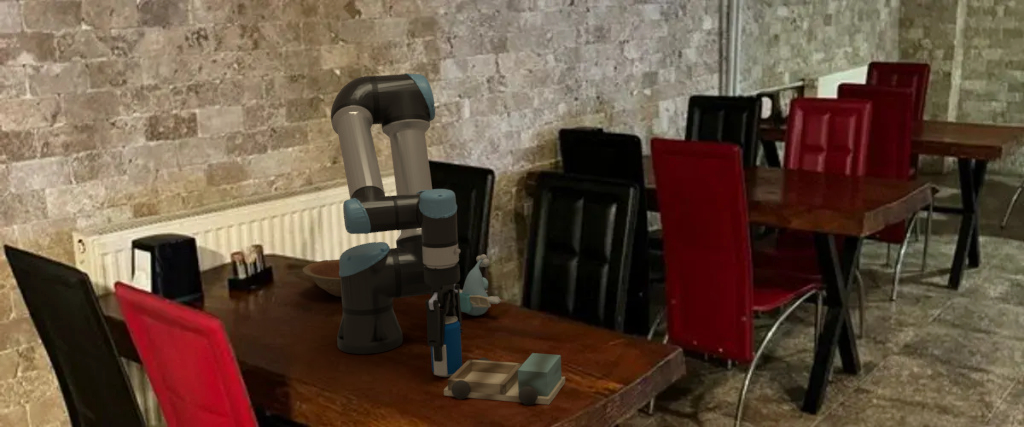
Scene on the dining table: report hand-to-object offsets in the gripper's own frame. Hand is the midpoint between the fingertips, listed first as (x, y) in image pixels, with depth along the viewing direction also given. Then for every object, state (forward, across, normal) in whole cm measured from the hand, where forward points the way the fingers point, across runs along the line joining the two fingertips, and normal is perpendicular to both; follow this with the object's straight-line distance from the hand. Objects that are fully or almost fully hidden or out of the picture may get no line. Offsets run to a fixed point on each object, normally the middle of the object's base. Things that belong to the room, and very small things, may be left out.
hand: (447, 368), depth 213 cm
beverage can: (+1, 0, 0) cm, 1 cm away
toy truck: (+1, -6, -15) cm, 16 cm away
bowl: (+1, +52, +50) cm, 72 cm away
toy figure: (+1, +40, +8) cm, 41 cm away
